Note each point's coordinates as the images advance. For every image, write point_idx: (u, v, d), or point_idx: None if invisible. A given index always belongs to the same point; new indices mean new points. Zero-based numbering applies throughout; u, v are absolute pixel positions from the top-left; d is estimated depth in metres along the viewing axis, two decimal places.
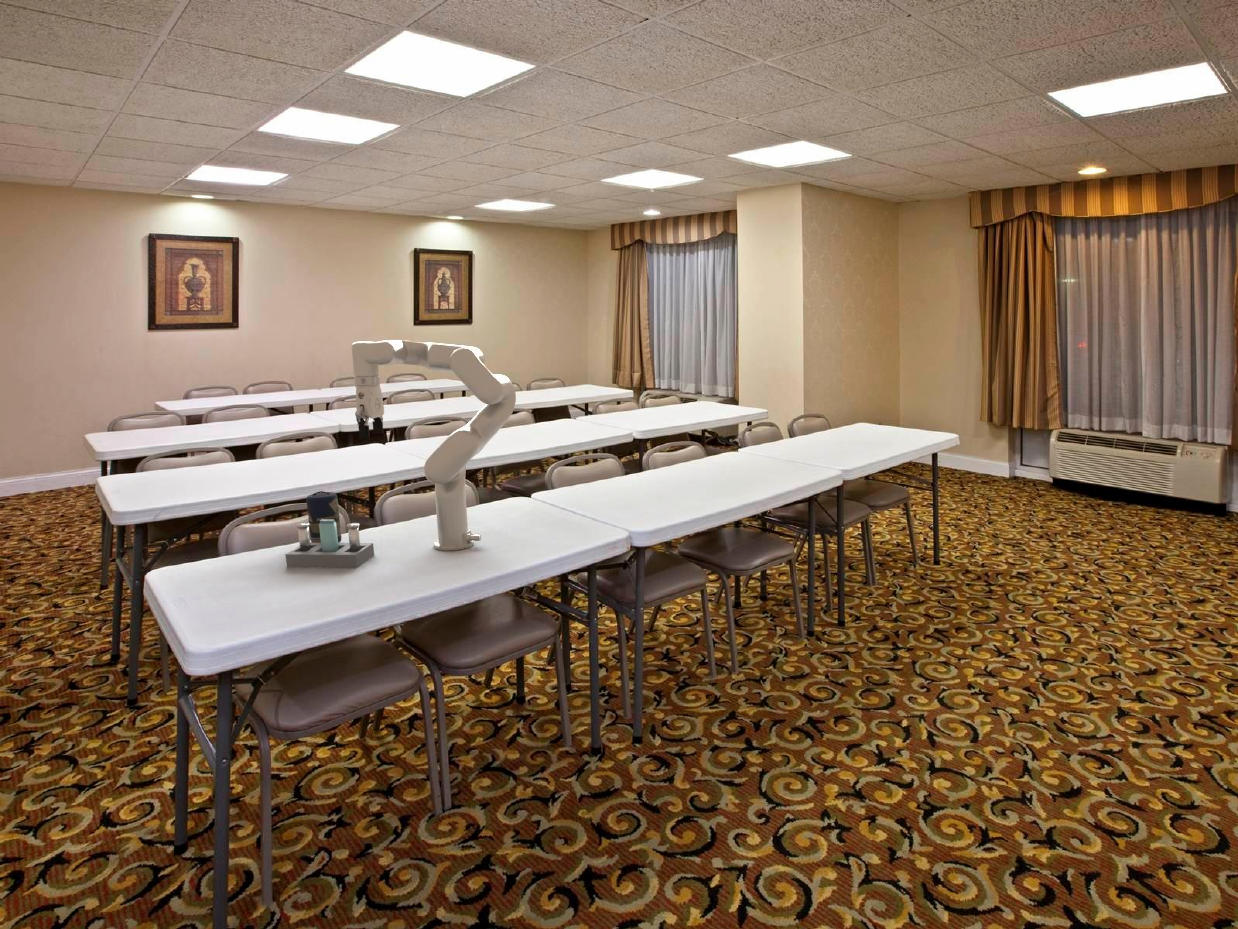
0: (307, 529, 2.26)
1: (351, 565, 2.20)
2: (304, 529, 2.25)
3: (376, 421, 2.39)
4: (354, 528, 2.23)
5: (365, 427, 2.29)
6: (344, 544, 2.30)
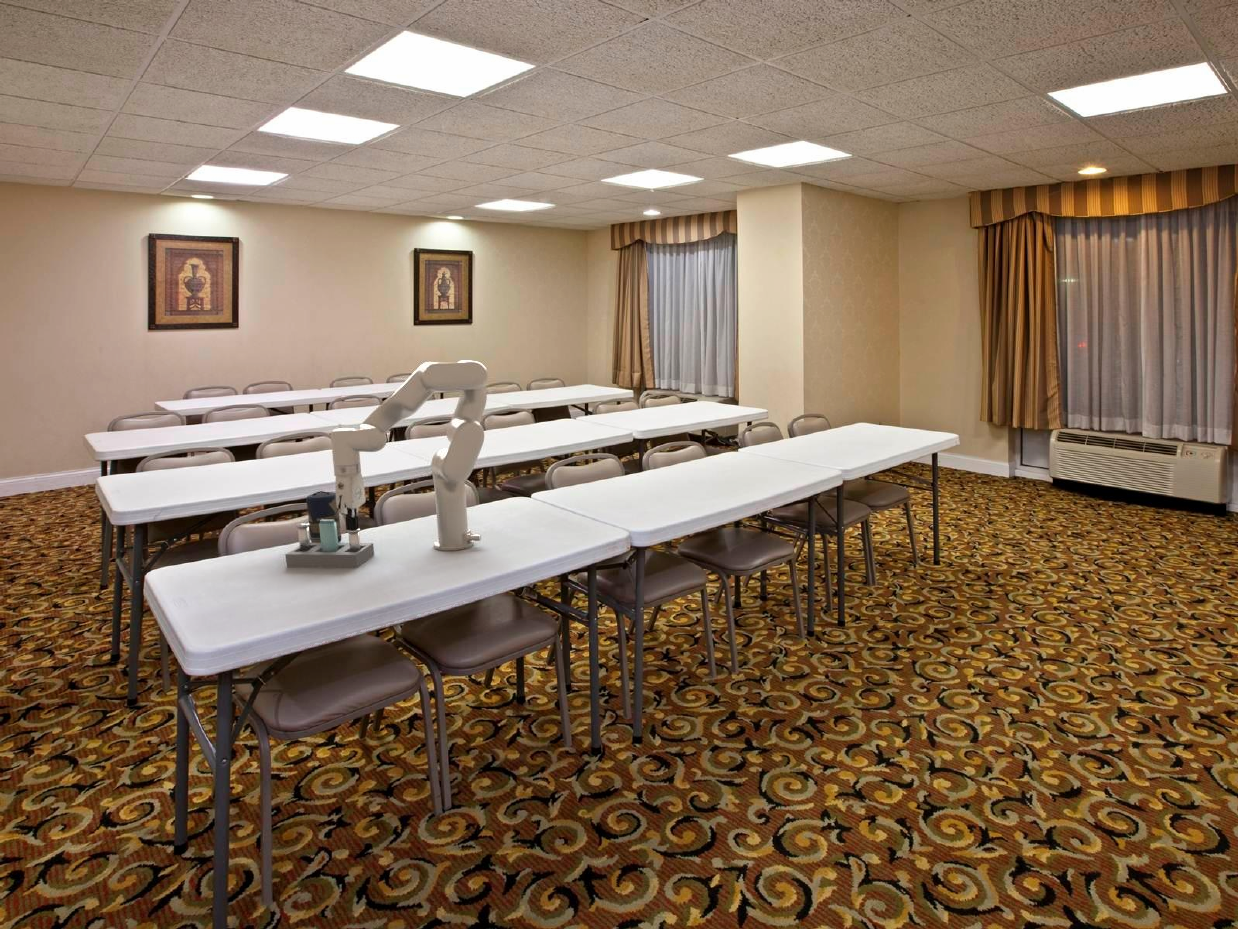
0: (307, 529, 2.26)
1: (351, 565, 2.20)
2: (304, 529, 2.25)
3: None
4: (354, 533, 2.23)
5: (352, 519, 2.22)
6: (344, 544, 2.30)
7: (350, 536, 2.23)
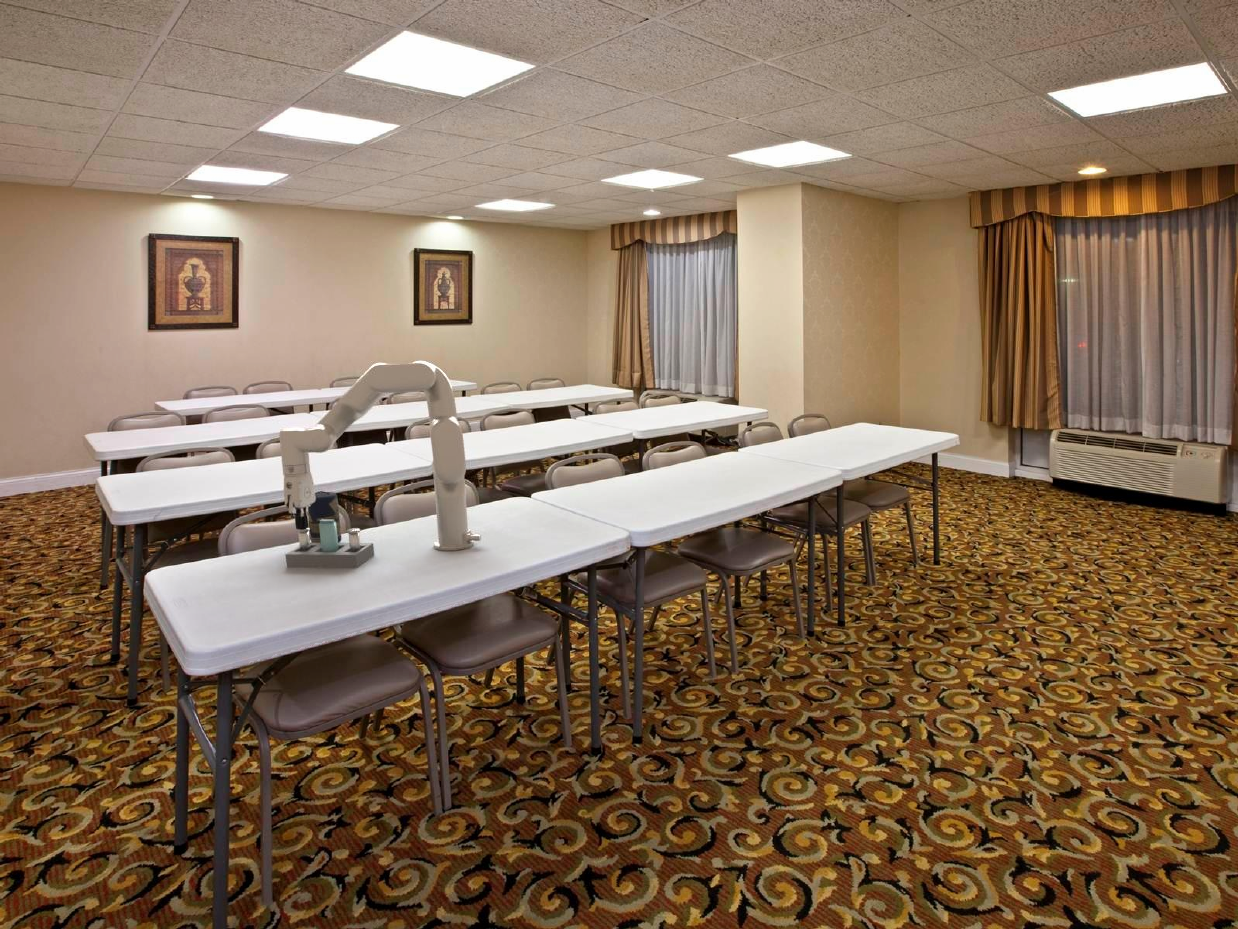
0: (307, 533, 2.26)
1: (351, 565, 2.20)
2: (304, 533, 2.25)
3: None
4: (355, 533, 2.23)
5: (301, 518, 2.24)
6: (344, 544, 2.30)
7: (350, 537, 2.23)
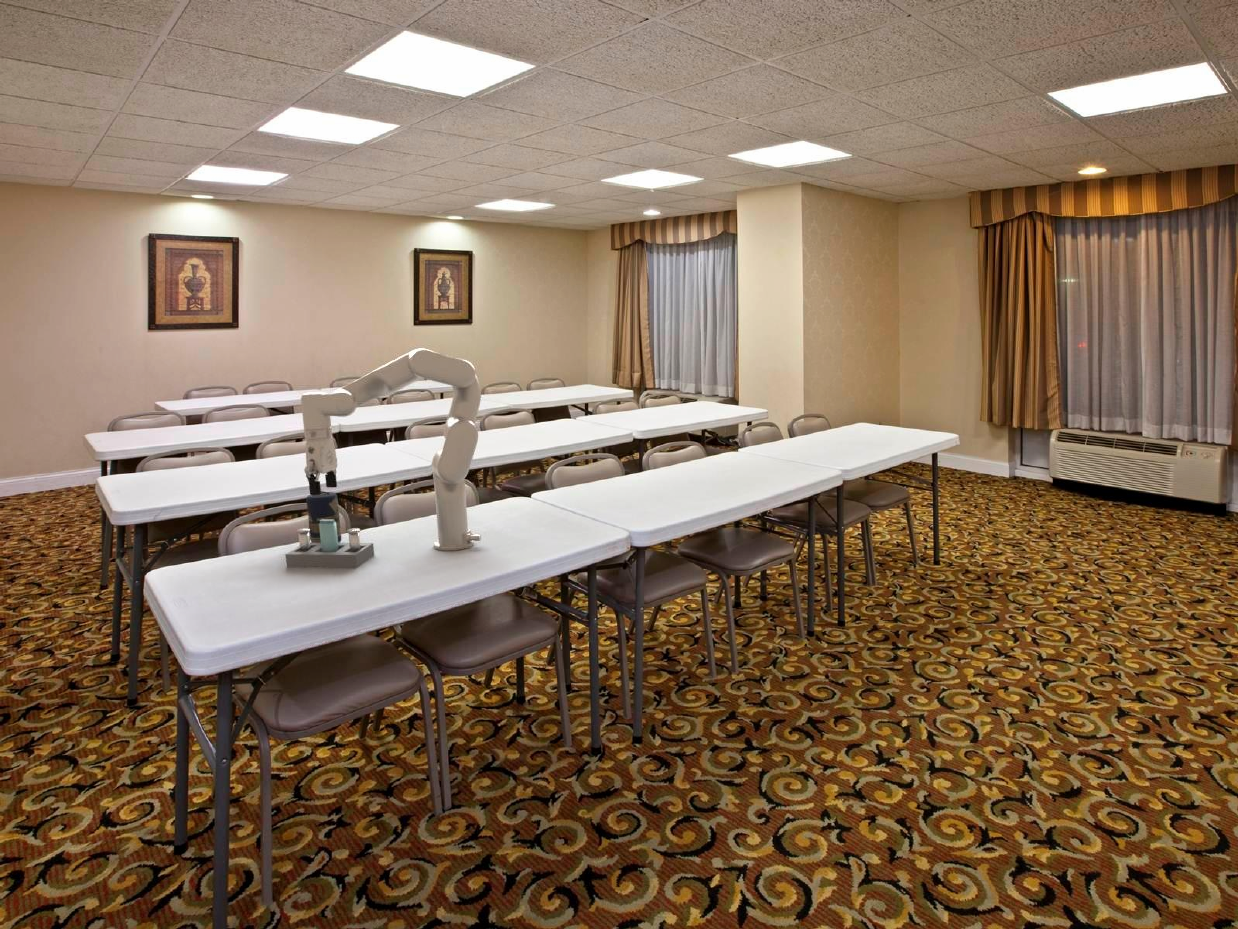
0: (308, 534, 2.26)
1: (351, 565, 2.20)
2: (305, 534, 2.25)
3: (329, 474, 2.27)
4: (355, 533, 2.23)
5: (316, 483, 2.17)
6: (344, 544, 2.30)
7: (350, 537, 2.23)
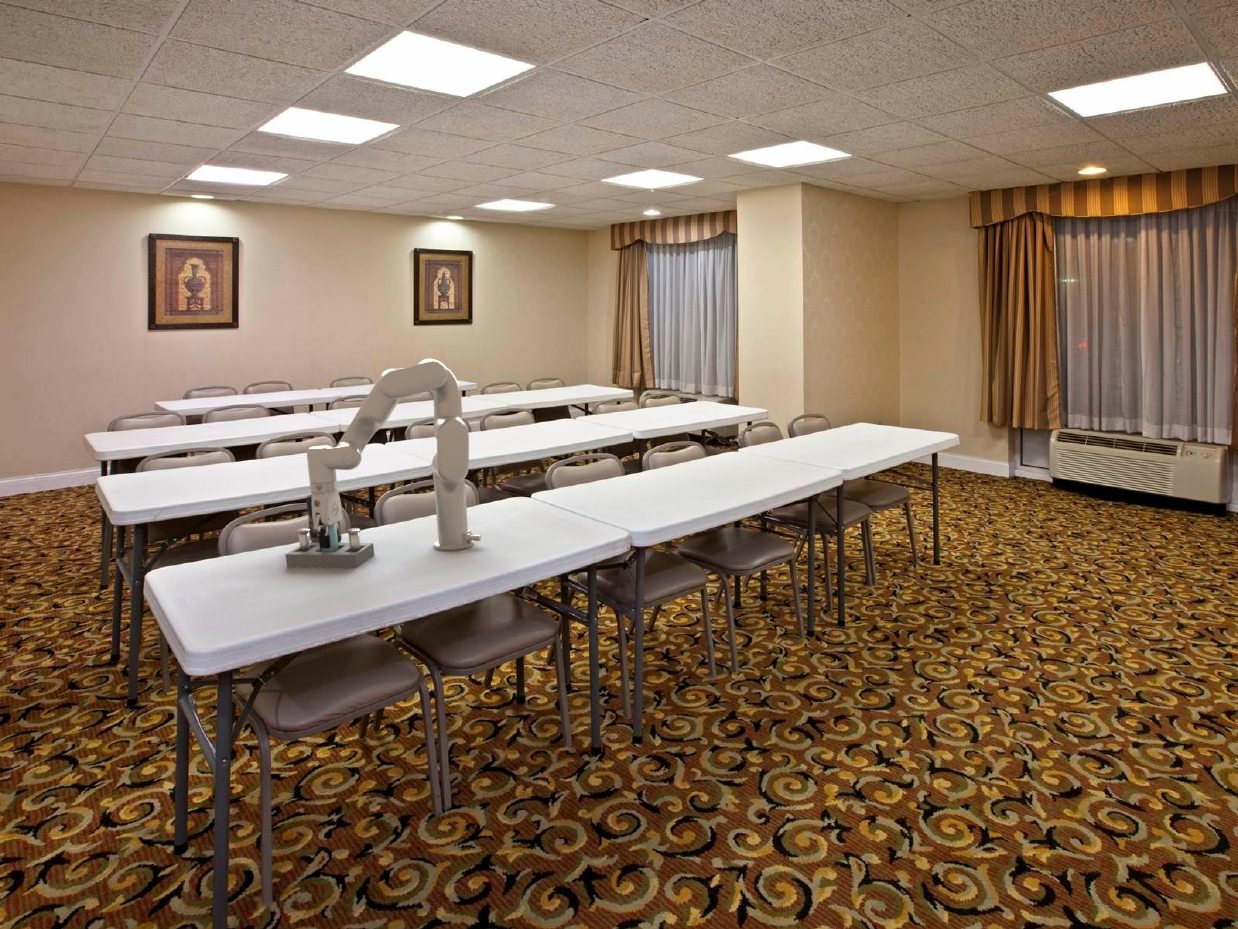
0: (308, 534, 2.26)
1: (351, 565, 2.20)
2: (305, 534, 2.25)
3: None
4: (355, 533, 2.23)
5: (325, 537, 2.22)
6: (344, 544, 2.30)
7: (350, 537, 2.23)
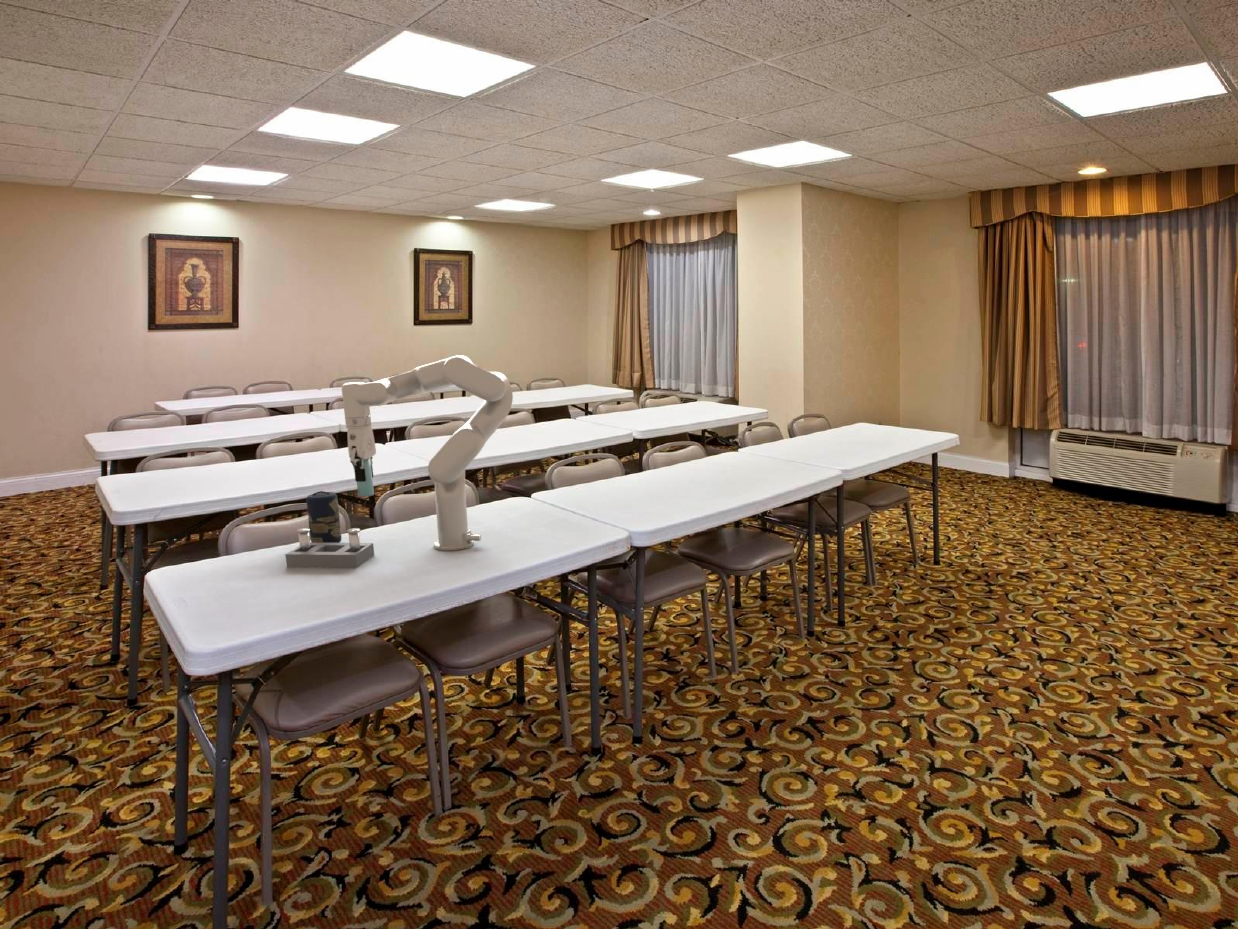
0: (308, 534, 2.26)
1: (351, 565, 2.20)
2: (305, 534, 2.25)
3: None
4: (355, 533, 2.23)
5: (361, 470, 2.30)
6: (344, 544, 2.30)
7: (350, 537, 2.23)
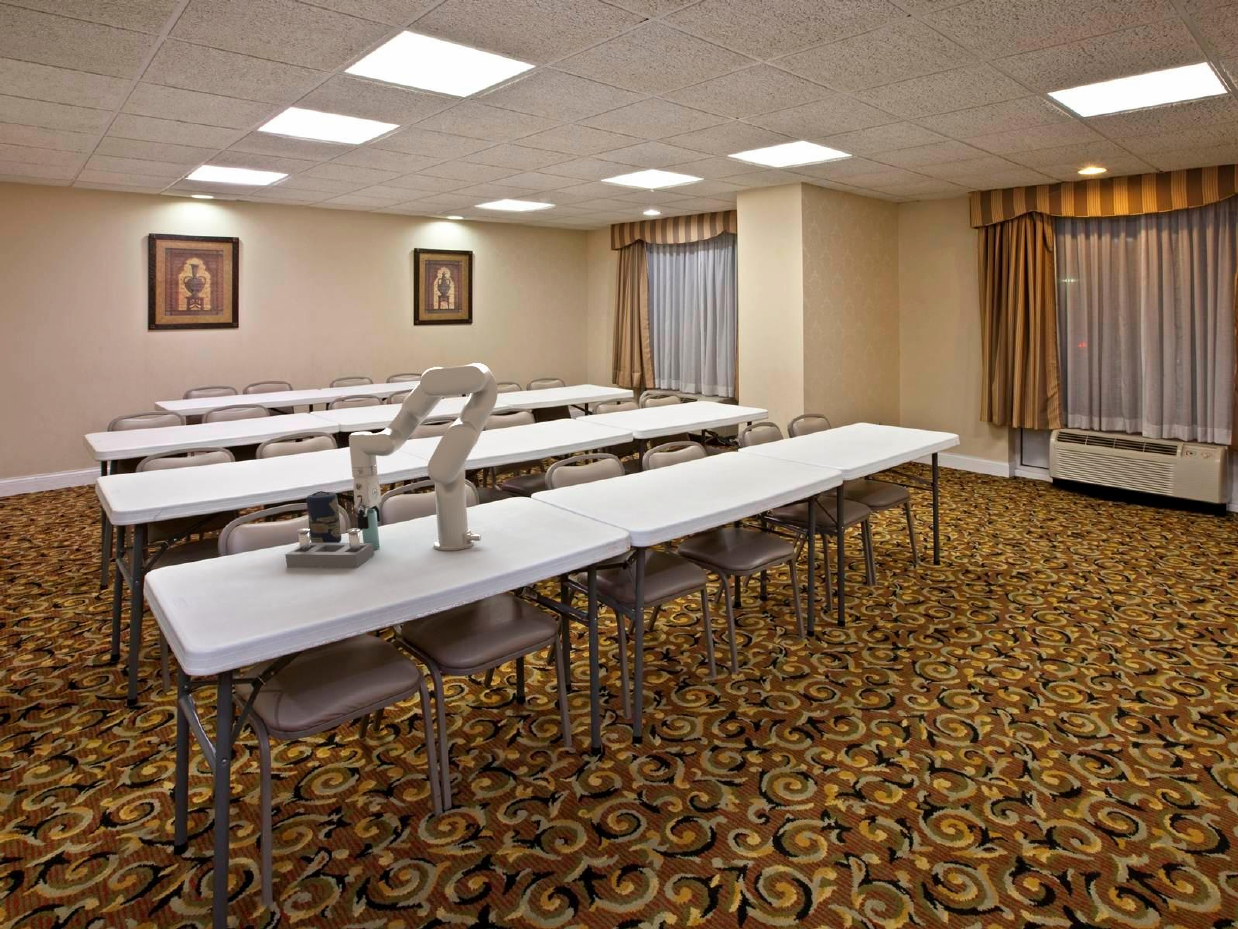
0: (308, 534, 2.26)
1: (351, 565, 2.20)
2: (305, 534, 2.25)
3: None
4: (355, 533, 2.23)
5: (364, 518, 2.32)
6: (344, 544, 2.30)
7: (350, 537, 2.23)
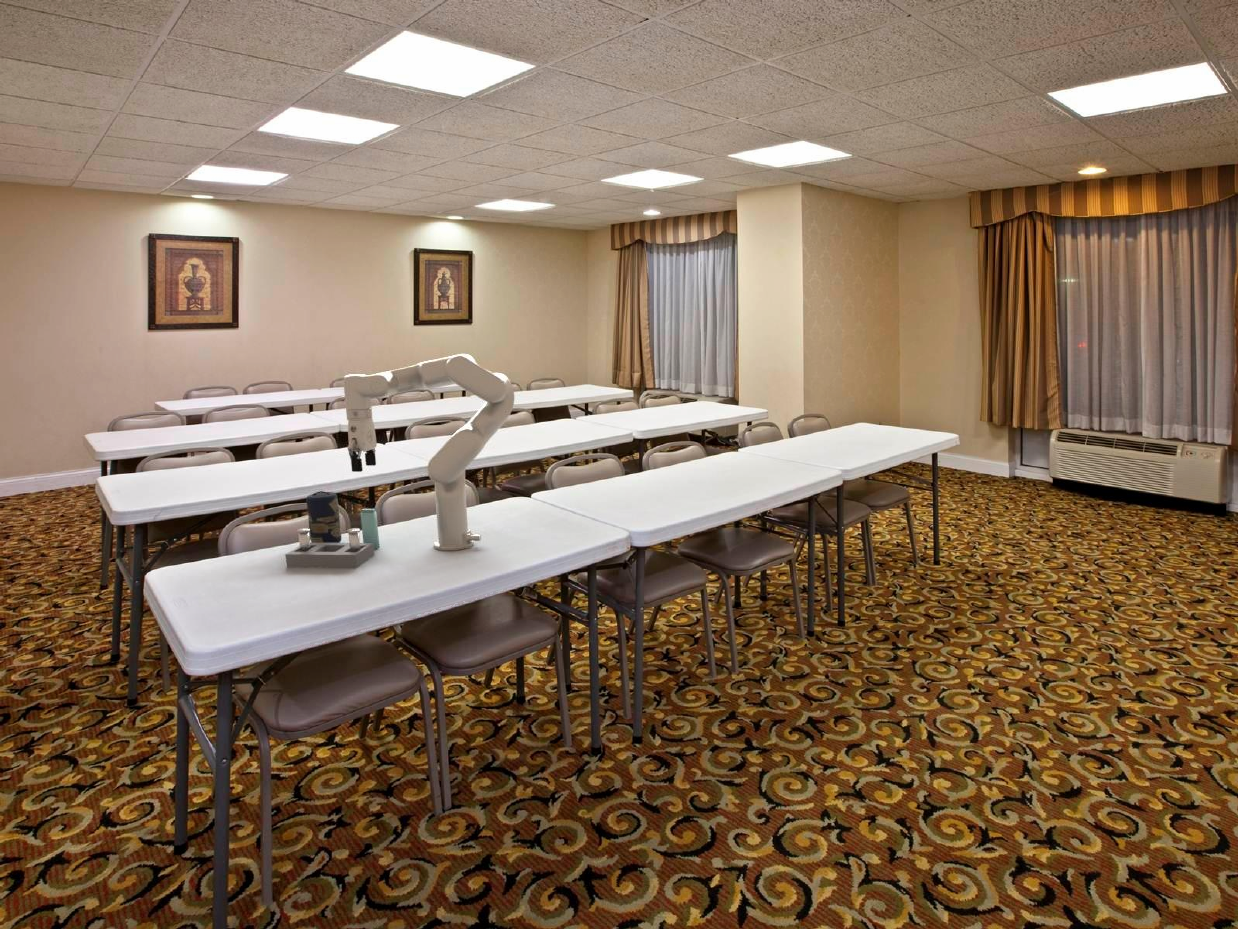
0: (308, 534, 2.26)
1: (351, 565, 2.20)
2: (305, 534, 2.25)
3: (368, 453, 2.38)
4: (355, 533, 2.23)
5: (358, 460, 2.28)
6: (344, 544, 2.30)
7: (350, 537, 2.23)
